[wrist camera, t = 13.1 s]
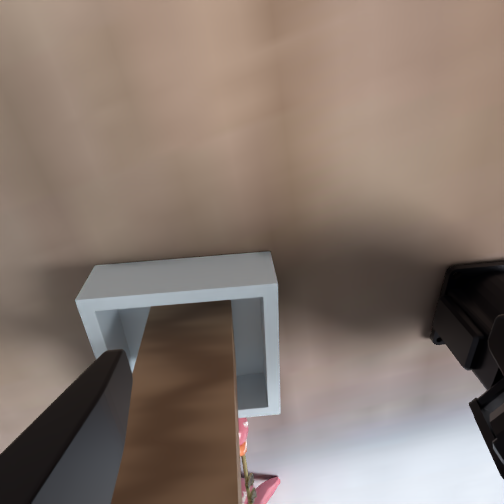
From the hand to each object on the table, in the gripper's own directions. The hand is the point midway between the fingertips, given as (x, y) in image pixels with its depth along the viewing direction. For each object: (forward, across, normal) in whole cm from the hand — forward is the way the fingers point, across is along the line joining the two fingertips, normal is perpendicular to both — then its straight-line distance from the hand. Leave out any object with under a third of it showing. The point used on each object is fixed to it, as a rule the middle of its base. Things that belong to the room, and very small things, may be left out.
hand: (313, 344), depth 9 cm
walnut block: (+12, +5, +10) cm, 17 cm away
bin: (+13, +5, +10) cm, 17 cm away
